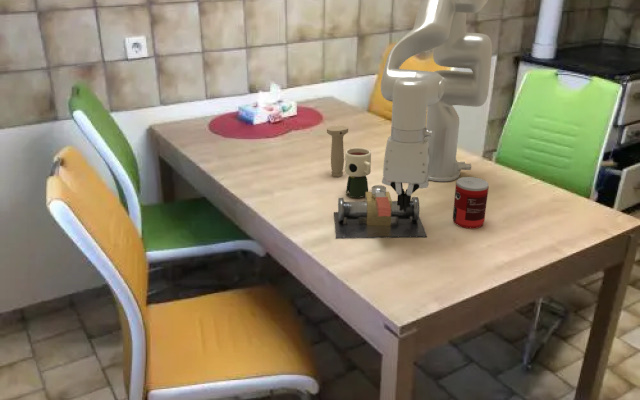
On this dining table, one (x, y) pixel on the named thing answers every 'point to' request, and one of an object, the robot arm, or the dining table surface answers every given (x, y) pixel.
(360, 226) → the valve
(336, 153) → the handle
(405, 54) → the robot arm
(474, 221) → the canned food
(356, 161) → the character mug
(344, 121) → the dining table surface
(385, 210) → the lever
